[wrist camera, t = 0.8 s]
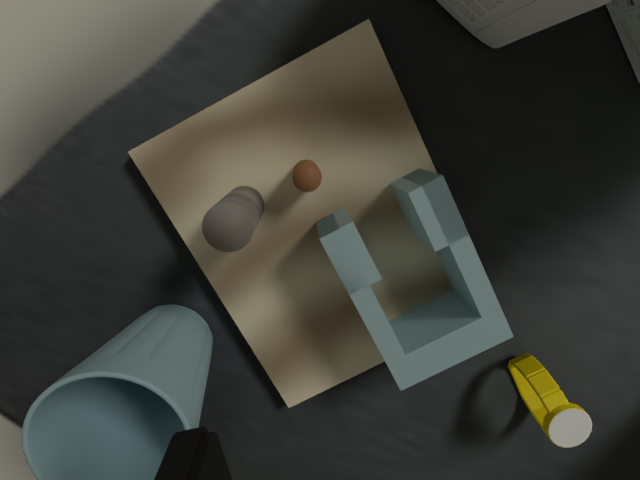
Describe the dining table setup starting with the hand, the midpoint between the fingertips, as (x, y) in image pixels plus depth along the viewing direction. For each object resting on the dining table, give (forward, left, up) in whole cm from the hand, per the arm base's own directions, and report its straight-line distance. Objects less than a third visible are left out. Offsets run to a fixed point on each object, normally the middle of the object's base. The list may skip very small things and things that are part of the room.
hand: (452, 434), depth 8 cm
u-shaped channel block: (-5, -2, -19) cm, 20 cm away
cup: (-2, +14, -20) cm, 25 cm away
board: (0, +1, -20) cm, 20 cm away
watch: (-17, -7, -20) cm, 27 cm away
